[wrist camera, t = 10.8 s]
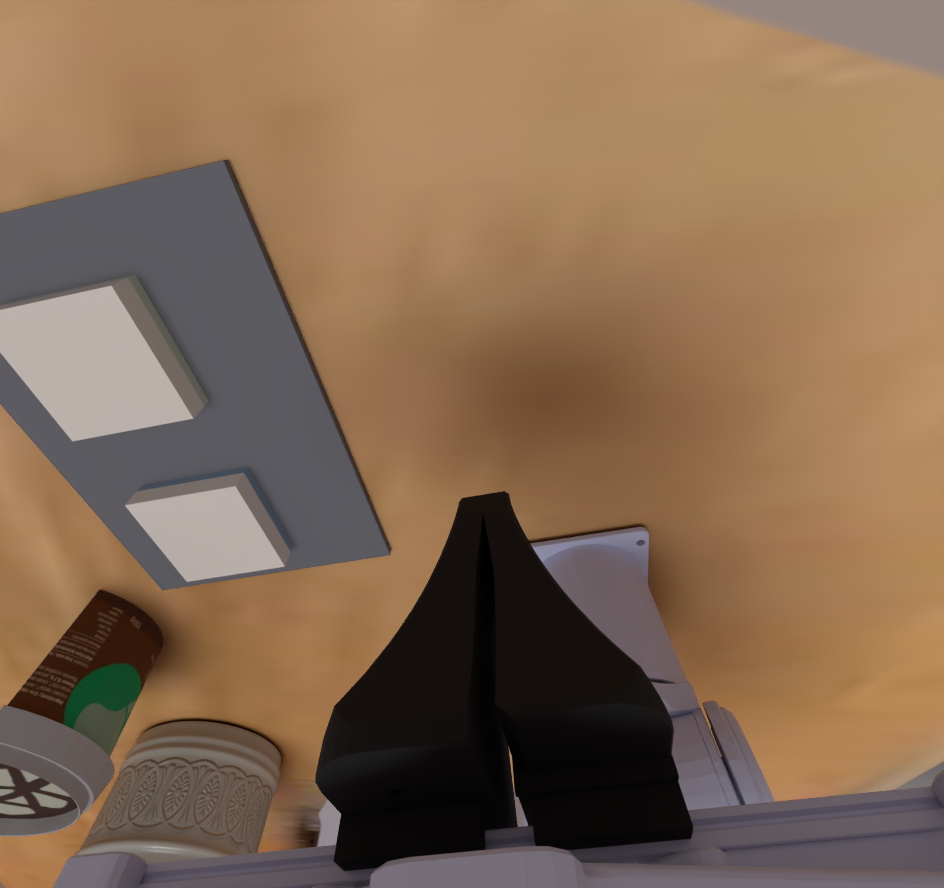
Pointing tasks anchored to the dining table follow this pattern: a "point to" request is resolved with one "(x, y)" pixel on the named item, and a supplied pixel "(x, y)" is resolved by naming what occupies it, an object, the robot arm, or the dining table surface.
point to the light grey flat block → (212, 524)
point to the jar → (189, 794)
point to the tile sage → (99, 359)
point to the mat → (194, 364)
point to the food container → (73, 717)
